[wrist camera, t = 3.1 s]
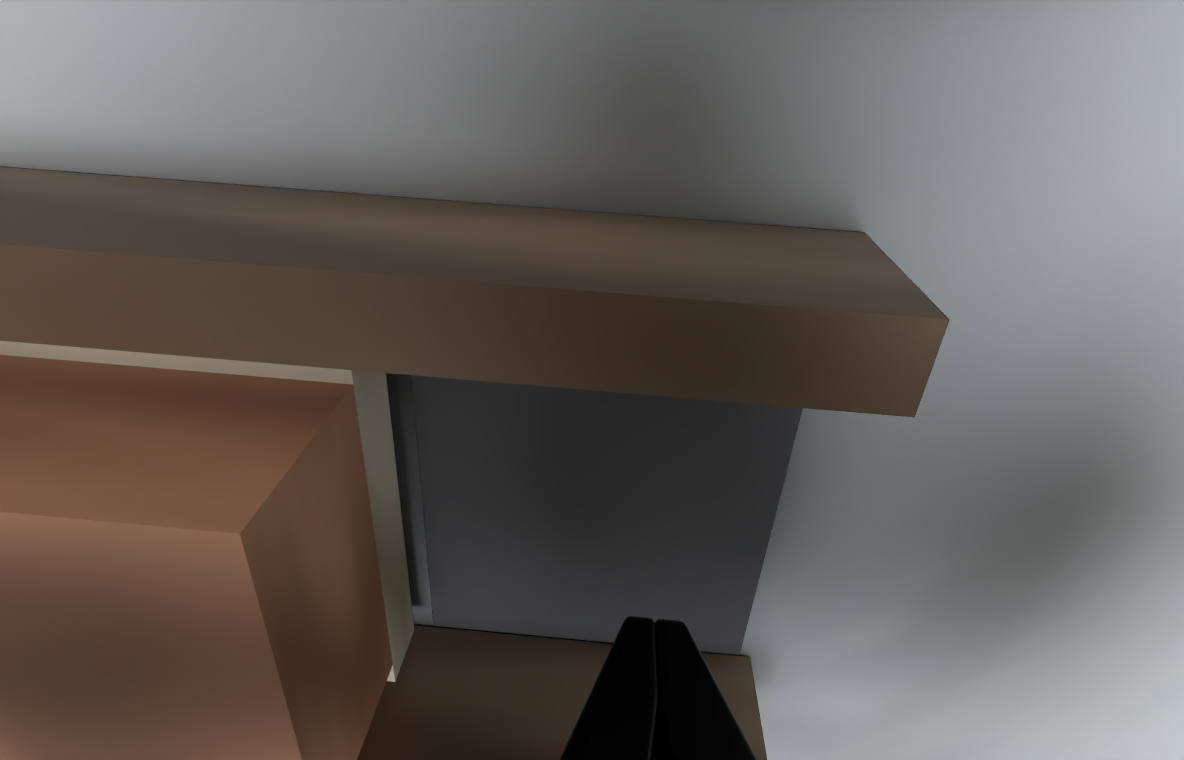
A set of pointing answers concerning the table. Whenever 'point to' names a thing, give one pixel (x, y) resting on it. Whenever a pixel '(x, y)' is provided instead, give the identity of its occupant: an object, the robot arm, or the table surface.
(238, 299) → the channel
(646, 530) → the trap pit
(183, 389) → the block
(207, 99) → the table surface
